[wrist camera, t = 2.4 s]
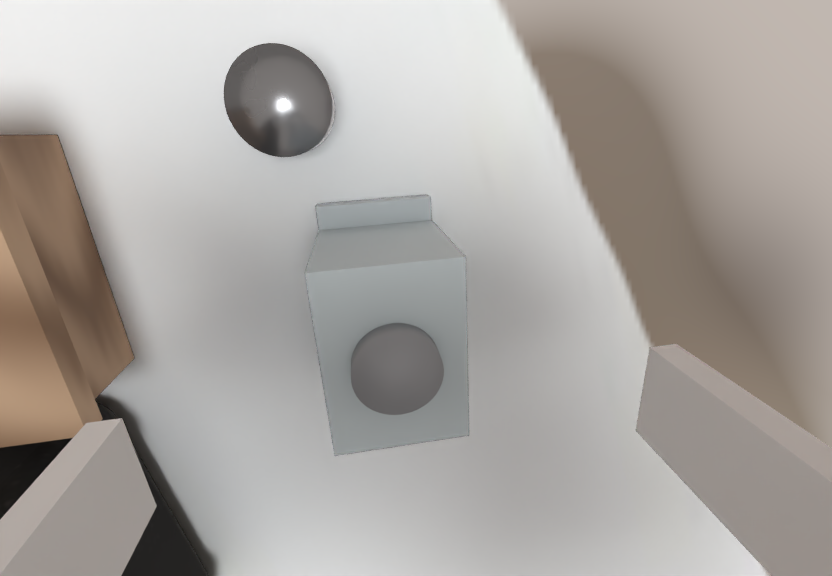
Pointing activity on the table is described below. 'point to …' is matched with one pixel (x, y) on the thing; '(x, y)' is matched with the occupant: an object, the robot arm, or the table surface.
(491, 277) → the table surface
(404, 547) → the table surface
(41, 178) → the stand
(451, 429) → the housing
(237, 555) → the table surface
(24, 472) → the black carrying case
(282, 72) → the dark grey metallic dome
